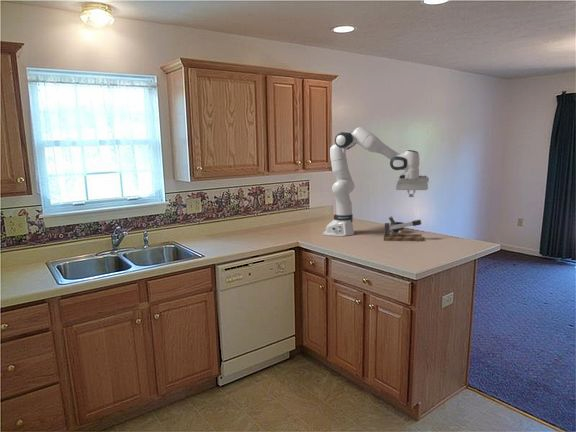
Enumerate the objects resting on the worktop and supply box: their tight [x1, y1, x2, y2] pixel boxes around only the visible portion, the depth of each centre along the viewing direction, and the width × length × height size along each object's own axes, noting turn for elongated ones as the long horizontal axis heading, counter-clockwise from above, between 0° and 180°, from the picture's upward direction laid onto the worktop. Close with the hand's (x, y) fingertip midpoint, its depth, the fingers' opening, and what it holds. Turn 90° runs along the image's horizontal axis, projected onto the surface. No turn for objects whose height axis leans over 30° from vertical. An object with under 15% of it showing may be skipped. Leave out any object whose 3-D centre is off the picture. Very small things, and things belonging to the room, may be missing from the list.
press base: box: [383, 222, 423, 242], centre depth 271 cm, size 24×12×10 cm, turn 76°
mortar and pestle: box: [388, 216, 405, 234], centre depth 290 cm, size 11×9×12 cm
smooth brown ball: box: [398, 229, 406, 236], centre depth 271 cm, size 4×4×4 cm
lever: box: [389, 219, 422, 231], centre depth 270 cm, size 21×4×3 cm, turn 75°
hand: (411, 196), depth 267 cm, fingers closed
